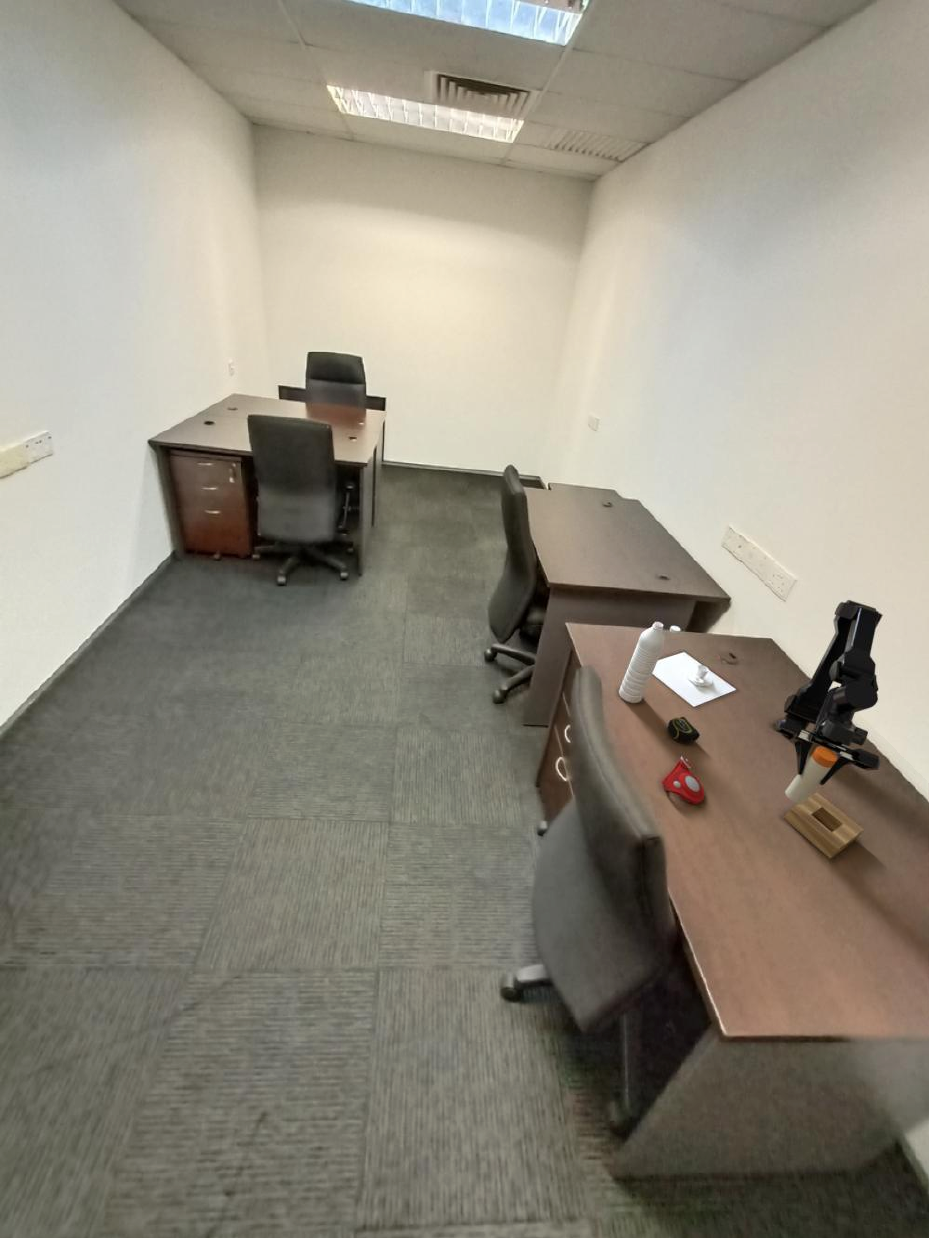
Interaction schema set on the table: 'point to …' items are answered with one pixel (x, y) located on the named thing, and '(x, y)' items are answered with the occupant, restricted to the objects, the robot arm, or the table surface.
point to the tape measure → (682, 730)
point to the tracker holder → (684, 783)
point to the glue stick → (811, 775)
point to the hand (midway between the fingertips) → (810, 779)
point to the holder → (817, 832)
